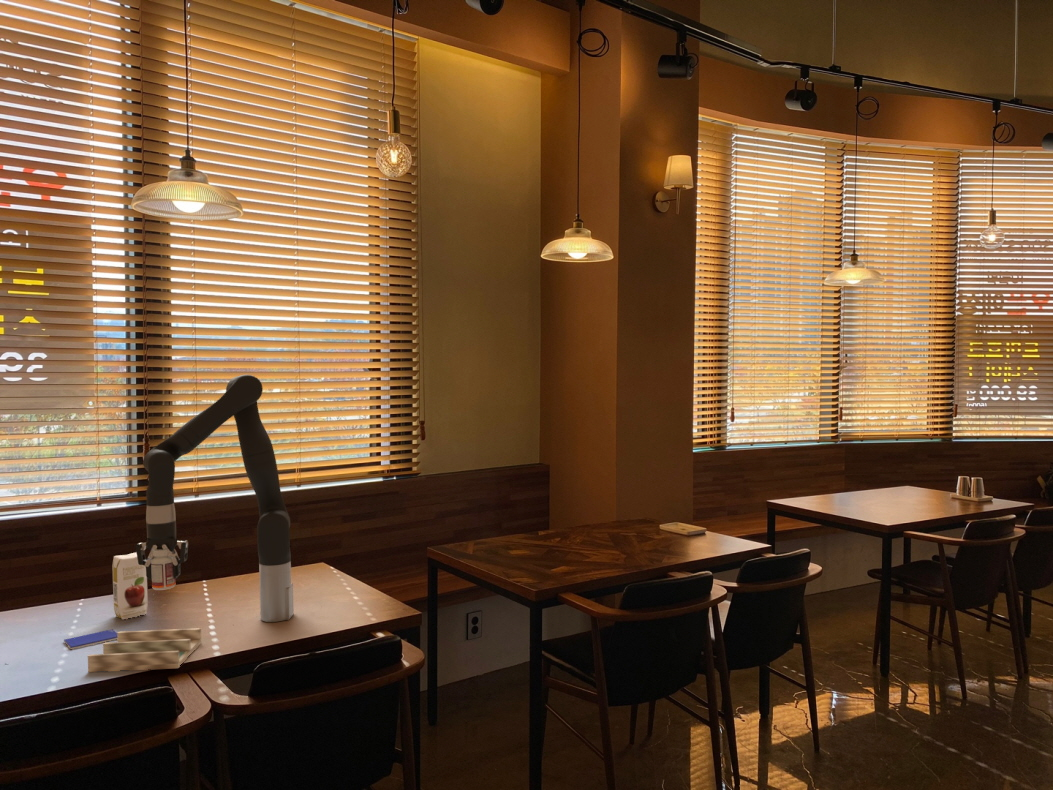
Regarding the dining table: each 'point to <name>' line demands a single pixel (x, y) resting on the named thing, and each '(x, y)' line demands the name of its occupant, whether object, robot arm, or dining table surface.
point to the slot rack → (146, 650)
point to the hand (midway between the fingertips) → (163, 578)
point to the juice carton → (129, 586)
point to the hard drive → (91, 639)
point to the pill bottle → (162, 571)
